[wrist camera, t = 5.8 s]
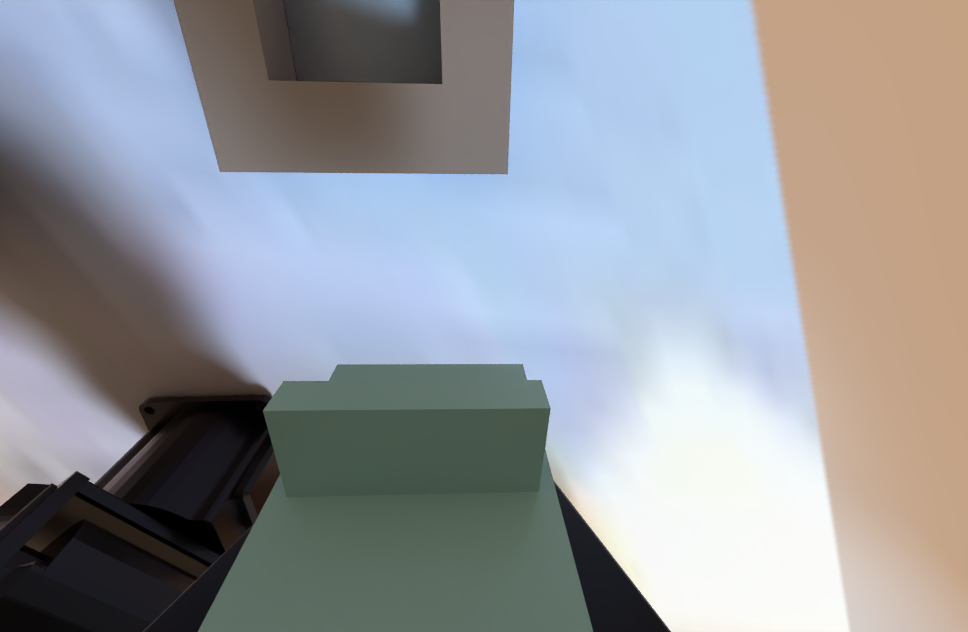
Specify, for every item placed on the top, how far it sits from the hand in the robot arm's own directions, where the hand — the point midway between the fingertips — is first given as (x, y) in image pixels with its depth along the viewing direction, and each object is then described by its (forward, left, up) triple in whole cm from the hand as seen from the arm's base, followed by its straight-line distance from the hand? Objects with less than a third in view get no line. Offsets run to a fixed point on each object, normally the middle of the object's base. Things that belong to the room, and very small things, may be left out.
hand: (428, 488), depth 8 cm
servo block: (0, 0, -2) cm, 2 cm away
